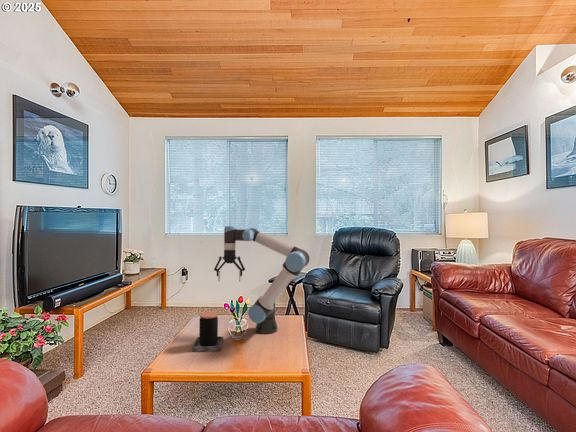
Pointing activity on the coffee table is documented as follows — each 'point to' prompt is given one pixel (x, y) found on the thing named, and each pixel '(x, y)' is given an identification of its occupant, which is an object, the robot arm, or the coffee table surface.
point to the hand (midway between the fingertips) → (229, 281)
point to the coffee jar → (208, 329)
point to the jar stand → (199, 348)
